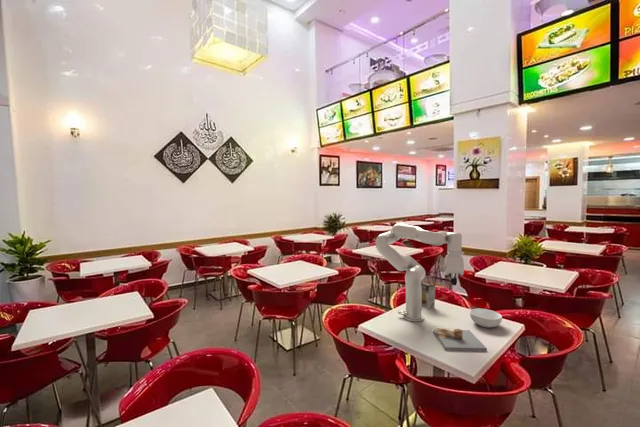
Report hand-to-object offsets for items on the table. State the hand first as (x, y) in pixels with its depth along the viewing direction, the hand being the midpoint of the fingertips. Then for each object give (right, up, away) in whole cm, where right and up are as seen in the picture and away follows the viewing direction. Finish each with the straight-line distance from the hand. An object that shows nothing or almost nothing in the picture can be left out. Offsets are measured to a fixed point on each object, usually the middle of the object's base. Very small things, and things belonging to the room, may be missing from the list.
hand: (453, 284), depth 178 cm
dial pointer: (-9, -24, -14) cm, 29 cm away
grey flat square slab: (-5, -26, -16) cm, 31 cm away
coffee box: (-4, -23, +34) cm, 41 cm away
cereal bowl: (+20, -25, +3) cm, 32 cm away
